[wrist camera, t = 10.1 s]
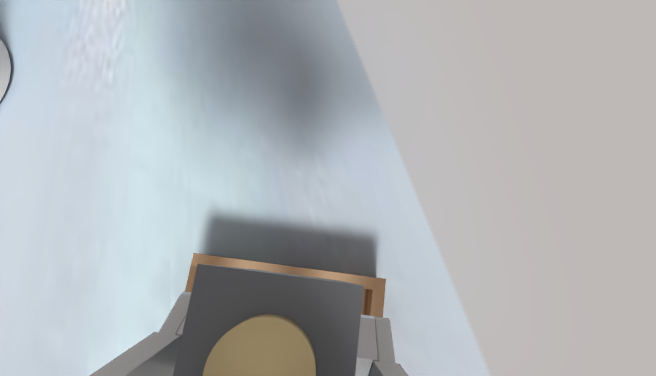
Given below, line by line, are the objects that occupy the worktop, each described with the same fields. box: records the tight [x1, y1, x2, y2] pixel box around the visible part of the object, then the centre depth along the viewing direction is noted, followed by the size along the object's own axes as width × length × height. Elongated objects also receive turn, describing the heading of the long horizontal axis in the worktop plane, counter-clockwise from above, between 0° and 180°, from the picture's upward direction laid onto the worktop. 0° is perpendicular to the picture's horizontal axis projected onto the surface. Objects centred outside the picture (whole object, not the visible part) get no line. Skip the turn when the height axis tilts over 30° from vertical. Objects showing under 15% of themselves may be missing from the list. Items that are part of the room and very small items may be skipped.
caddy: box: [185, 253, 386, 318], centre depth 28 cm, size 16×11×4 cm
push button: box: [173, 264, 364, 376], centre depth 11 cm, size 4×4×10 cm
